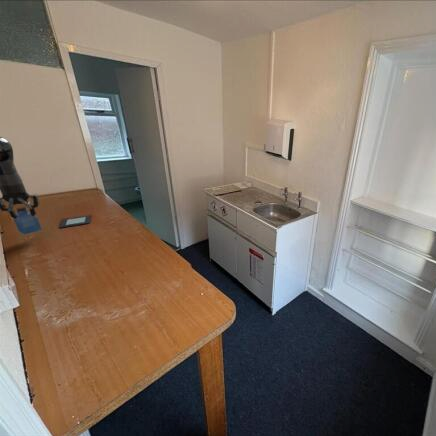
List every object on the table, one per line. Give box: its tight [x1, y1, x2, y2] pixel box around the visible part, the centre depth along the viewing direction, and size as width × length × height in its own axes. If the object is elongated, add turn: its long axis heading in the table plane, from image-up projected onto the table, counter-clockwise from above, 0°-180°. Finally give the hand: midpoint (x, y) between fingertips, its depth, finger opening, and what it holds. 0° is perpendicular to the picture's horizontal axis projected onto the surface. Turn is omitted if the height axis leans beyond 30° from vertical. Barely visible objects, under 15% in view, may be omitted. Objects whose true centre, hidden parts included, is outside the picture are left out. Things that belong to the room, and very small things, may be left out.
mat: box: [59, 215, 92, 229], centre depth 139 cm, size 13×13×1 cm
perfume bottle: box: [13, 206, 43, 235], centre depth 113 cm, size 6×6×12 cm
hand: (24, 216), depth 112 cm, fingers closed on perfume bottle, 5 cm apart
